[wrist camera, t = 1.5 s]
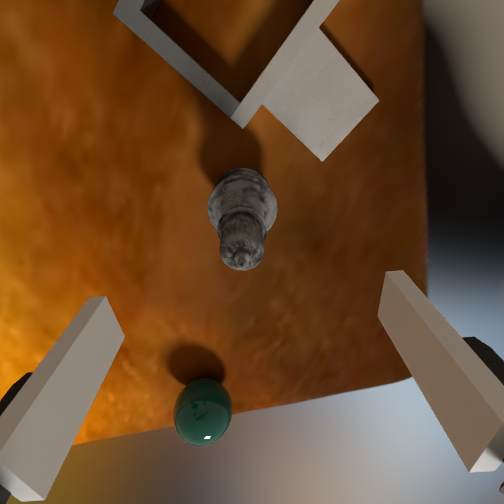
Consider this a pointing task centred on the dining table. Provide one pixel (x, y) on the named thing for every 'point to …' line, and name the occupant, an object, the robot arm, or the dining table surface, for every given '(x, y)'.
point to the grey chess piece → (242, 216)
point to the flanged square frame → (276, 78)
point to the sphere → (202, 412)
